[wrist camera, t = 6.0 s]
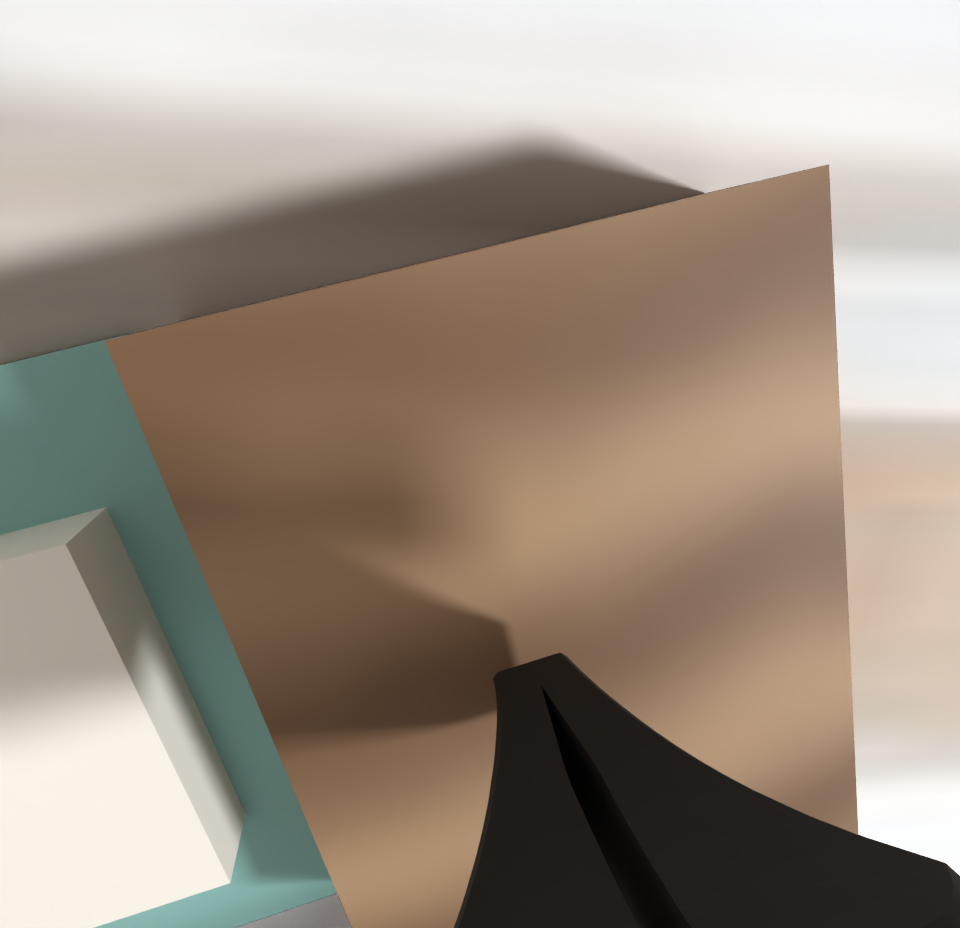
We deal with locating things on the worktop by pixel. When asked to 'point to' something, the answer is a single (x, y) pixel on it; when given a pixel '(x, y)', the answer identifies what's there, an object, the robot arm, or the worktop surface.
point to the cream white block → (98, 741)
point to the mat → (157, 611)
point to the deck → (524, 514)
